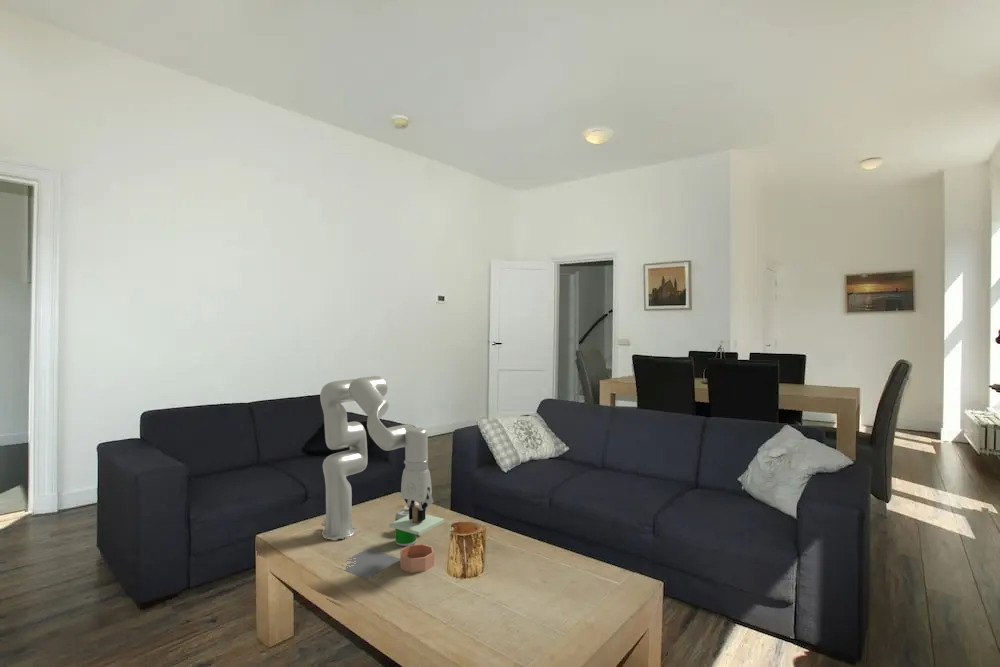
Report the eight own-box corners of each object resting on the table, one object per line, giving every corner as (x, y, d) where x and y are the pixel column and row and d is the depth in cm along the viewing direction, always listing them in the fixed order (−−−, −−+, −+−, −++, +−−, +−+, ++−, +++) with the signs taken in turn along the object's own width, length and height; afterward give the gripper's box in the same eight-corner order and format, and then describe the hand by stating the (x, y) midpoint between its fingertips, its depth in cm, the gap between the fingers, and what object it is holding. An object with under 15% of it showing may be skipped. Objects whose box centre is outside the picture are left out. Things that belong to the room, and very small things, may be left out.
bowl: (393, 568, 175) (393, 553, 175) (415, 555, 184) (415, 541, 184) (418, 577, 169) (418, 561, 169) (440, 563, 179) (440, 549, 179)
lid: (389, 526, 174) (389, 509, 174) (415, 514, 185) (415, 497, 185) (419, 535, 167) (419, 516, 167) (444, 521, 178) (444, 504, 178)
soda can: (418, 540, 198) (418, 508, 197) (413, 548, 190) (413, 516, 190) (398, 539, 198) (398, 508, 198) (392, 548, 191) (392, 515, 190)
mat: (333, 567, 175) (333, 566, 175) (368, 550, 189) (368, 548, 189) (367, 580, 167) (367, 578, 167) (401, 560, 181) (401, 559, 181)
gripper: (390, 464, 177) (391, 518, 178) (428, 471, 168) (429, 528, 169) (405, 459, 183) (406, 511, 184) (443, 466, 175) (443, 520, 175)
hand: (417, 519), depth 176 cm, fingers closed on lid, 3 cm apart
